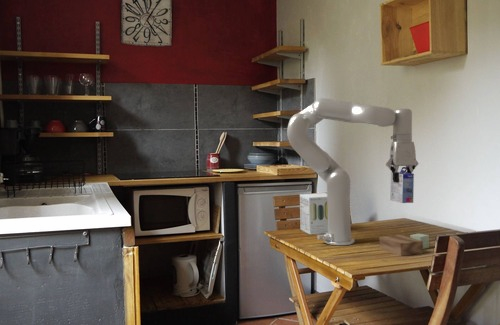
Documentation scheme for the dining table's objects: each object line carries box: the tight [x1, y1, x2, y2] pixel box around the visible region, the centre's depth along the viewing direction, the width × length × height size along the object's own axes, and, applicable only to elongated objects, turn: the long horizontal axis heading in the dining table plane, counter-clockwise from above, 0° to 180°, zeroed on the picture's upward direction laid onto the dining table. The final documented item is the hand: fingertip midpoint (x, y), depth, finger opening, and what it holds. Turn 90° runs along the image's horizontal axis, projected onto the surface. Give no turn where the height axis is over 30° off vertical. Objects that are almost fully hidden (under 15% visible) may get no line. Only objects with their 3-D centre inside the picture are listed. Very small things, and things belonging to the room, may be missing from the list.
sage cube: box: [409, 233, 430, 250], centre depth 207 cm, size 5×5×5 cm
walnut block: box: [378, 234, 424, 257], centre depth 202 cm, size 10×14×5 cm
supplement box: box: [299, 192, 328, 235], centre depth 246 cm, size 13×13×18 cm
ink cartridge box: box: [389, 166, 415, 204], centre depth 216 cm, size 10×6×14 cm, turn 16°
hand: (402, 181), depth 216 cm, fingers closed on ink cartridge box, 5 cm apart
